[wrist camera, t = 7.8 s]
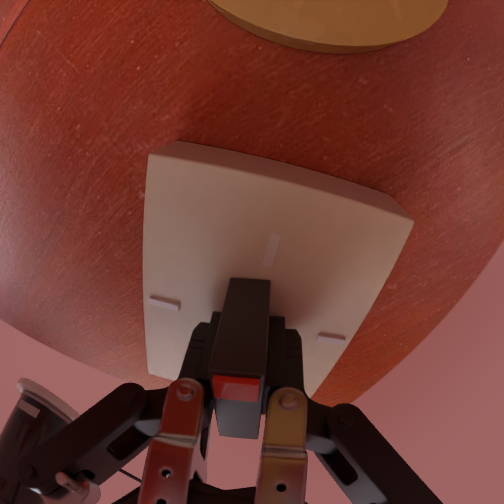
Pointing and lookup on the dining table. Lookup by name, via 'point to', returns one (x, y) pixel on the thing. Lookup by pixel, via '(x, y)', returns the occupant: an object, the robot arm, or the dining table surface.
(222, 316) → the dimmer knob
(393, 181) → the dining table surface
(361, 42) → the lamp
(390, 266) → the dimmer panel
